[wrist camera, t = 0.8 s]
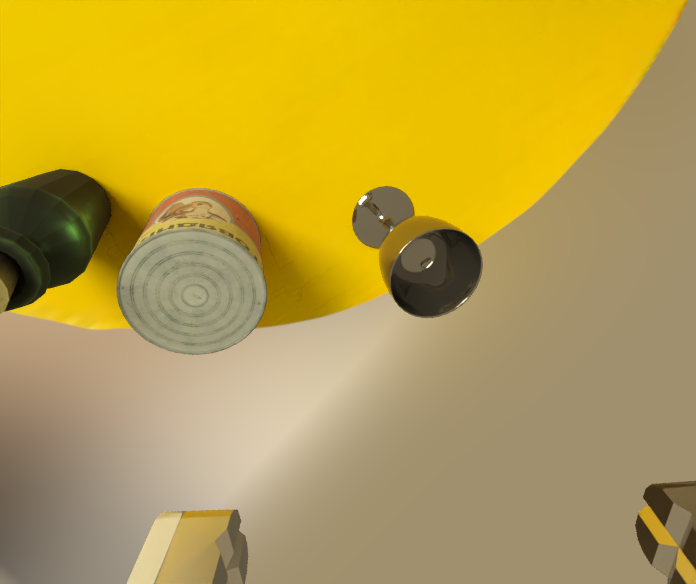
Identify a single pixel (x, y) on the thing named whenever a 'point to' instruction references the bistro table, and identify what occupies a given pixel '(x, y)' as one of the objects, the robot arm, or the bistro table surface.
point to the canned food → (195, 274)
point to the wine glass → (417, 253)
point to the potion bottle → (47, 233)
